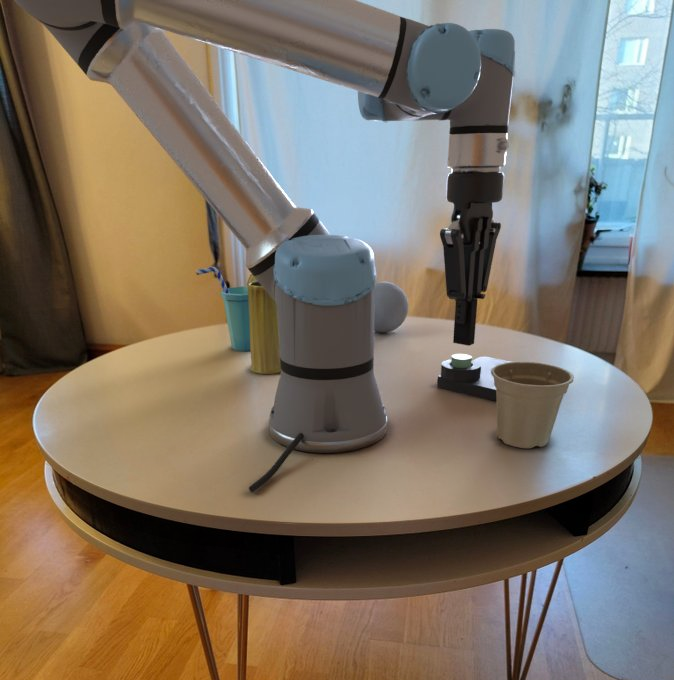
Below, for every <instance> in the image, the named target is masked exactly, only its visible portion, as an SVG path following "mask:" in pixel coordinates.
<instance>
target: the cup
mask: <svg viewBox="0 0 674 680" xmlns="http://www.w3.org/2000/svg"><path fill="white" fill-rule="evenodd" d="M209 273H214V274H215V276H216V277H217V279H218V282H219V284H220V286H221V288H222V290H220V297H221V298H222V300H223V305H224V306H223V307H224V310H225V311H224V312H225V317H226V323H227V329H228V332H229V338H230V344H231V348H232V349H233V350H234V351H237V352H249V351H250V318H249V300H248V283H250V282H254V281H258V280H257V279H256V278H255V277H254V276H253V274H252V273H251V274H250V275H249V277H248V279H247V282H246V286H235V287H227V285H226V281H225V279H224V277H223V276H222V273H221V271H220V270H219V269H218V268H216V267H215V266H209V267H205V268H200V269H196V270H195V274H196V275H197V276H199V275H204V274H209ZM250 352H251V351H250Z"/></svg>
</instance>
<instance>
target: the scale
mask: <svg viewBox="0 0 674 680" xmlns="http://www.w3.org/2000/svg"><path fill="white" fill-rule="evenodd" d="M451 360H452V358H451V359H445V360H443V361H441V365H440V366H441V367H440V375H438V376H437V382H436V383H437V384H436V387H437V388H441V389H443V390H449V391H453V392H457V393H461V394H466V395H468V396H469V395H470V396H473V397H476V398H477V397H478V398H482V399H485V400H491V401H495V402H497V399H496V387H495V385H494V377H493V376H492V374H491V370H492V368H493V367H495V366H497V365H499V364H503V363H508V362H512V361H510V360H506V359H500V358H495V357H490V356H486V355H485V356H484V355H481V356H479V357H477V358H475V359H472V362H471V367H468V368H457V367H452V366H451Z"/></svg>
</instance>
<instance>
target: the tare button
mask: <svg viewBox="0 0 674 680" xmlns="http://www.w3.org/2000/svg"><path fill="white" fill-rule="evenodd" d="M451 359H452V360H451V366H452V367H457V368H468V367H471V362H472V360H473V357H472V355H469V354H467V353H455V354H452V355H451Z"/></svg>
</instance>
